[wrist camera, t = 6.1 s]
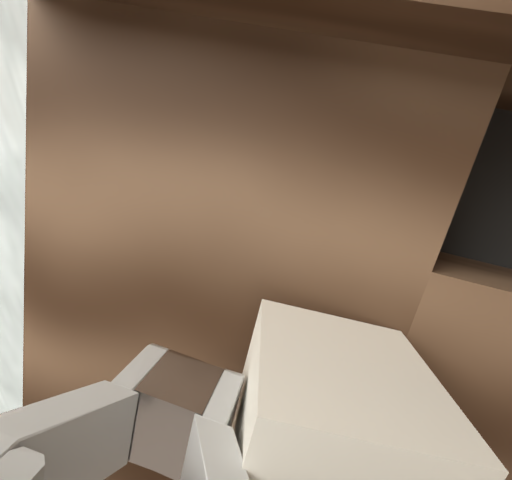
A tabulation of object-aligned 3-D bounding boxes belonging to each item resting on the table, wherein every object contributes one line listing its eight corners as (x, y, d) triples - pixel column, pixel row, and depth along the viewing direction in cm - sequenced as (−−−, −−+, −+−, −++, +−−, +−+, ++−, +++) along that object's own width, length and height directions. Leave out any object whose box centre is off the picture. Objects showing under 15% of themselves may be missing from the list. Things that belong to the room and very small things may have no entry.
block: (262, 298, 9) (257, 416, 5) (401, 331, 9) (509, 473, 5) (231, 413, 10) (207, 586, 6) (356, 441, 10) (414, 628, 6)
